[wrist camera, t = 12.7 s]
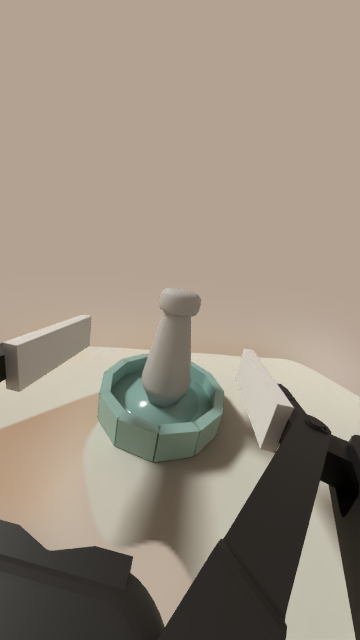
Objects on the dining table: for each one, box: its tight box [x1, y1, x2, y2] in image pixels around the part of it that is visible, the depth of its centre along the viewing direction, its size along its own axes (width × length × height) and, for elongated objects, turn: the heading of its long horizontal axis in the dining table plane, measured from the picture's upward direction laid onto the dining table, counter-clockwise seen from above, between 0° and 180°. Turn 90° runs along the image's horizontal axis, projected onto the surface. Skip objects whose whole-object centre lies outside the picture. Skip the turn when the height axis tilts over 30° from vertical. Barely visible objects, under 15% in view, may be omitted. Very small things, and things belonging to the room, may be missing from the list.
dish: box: [98, 354, 224, 462], centre depth 22 cm, size 14×14×3 cm
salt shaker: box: [142, 288, 201, 408], centre depth 21 cm, size 6×6×13 cm
